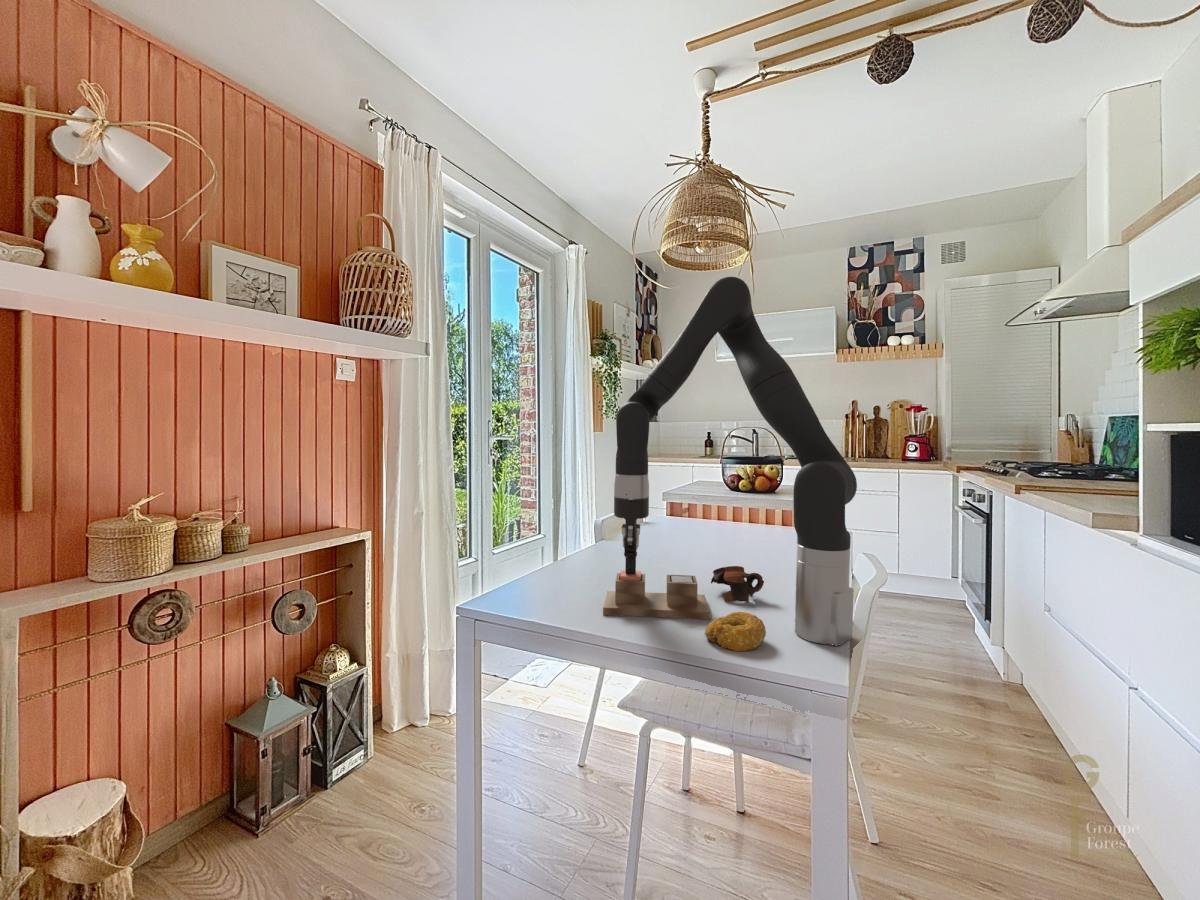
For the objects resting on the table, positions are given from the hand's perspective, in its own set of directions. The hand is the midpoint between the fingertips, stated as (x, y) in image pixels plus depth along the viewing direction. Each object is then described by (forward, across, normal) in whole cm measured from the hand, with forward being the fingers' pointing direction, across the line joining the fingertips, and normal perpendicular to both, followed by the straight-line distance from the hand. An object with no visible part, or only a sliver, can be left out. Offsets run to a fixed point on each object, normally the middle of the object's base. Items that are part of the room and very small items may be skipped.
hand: (630, 573), depth 114 cm
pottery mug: (+8, -10, +24) cm, 27 cm away
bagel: (+8, +16, +20) cm, 27 cm away
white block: (+6, 0, +11) cm, 12 cm away
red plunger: (+5, 0, 0) cm, 5 cm away
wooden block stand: (+7, 0, +6) cm, 9 cm away
